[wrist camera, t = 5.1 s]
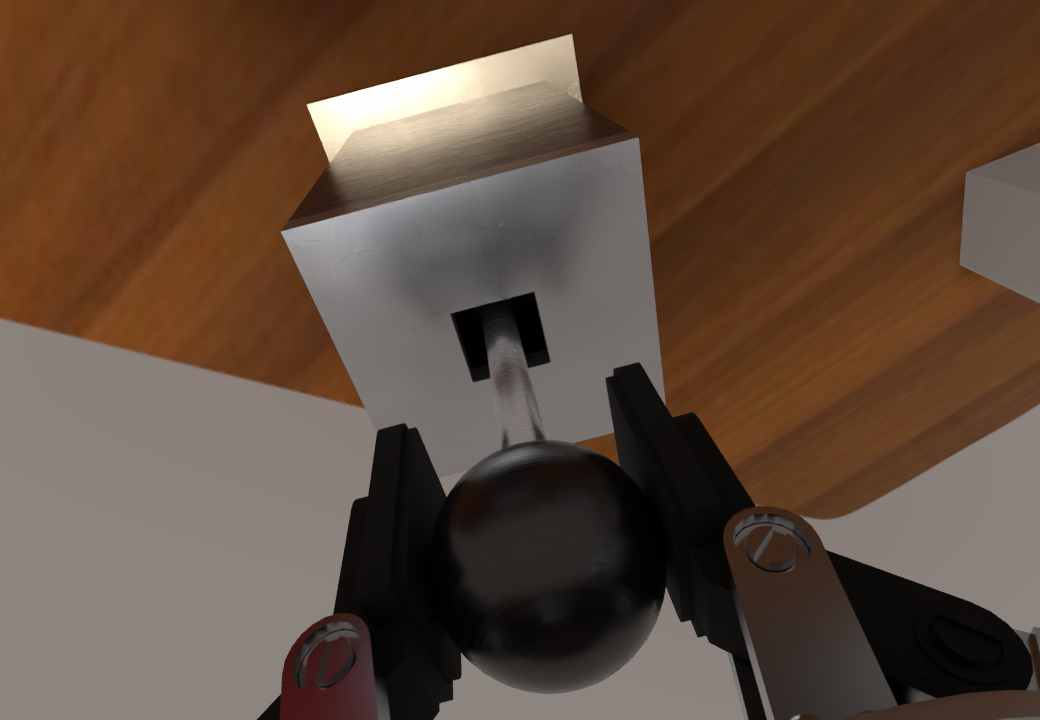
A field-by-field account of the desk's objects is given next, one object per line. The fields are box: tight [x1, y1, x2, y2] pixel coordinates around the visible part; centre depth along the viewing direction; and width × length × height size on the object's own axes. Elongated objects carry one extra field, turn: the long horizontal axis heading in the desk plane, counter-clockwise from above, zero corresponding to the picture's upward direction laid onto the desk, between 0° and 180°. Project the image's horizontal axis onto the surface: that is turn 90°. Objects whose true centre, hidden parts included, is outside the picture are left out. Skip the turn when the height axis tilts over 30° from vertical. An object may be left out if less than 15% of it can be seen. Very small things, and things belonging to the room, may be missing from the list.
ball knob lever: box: [428, 292, 667, 694], centre depth 15 cm, size 6×6×17 cm
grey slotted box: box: [281, 34, 666, 478], centre depth 22 cm, size 12×13×14 cm
